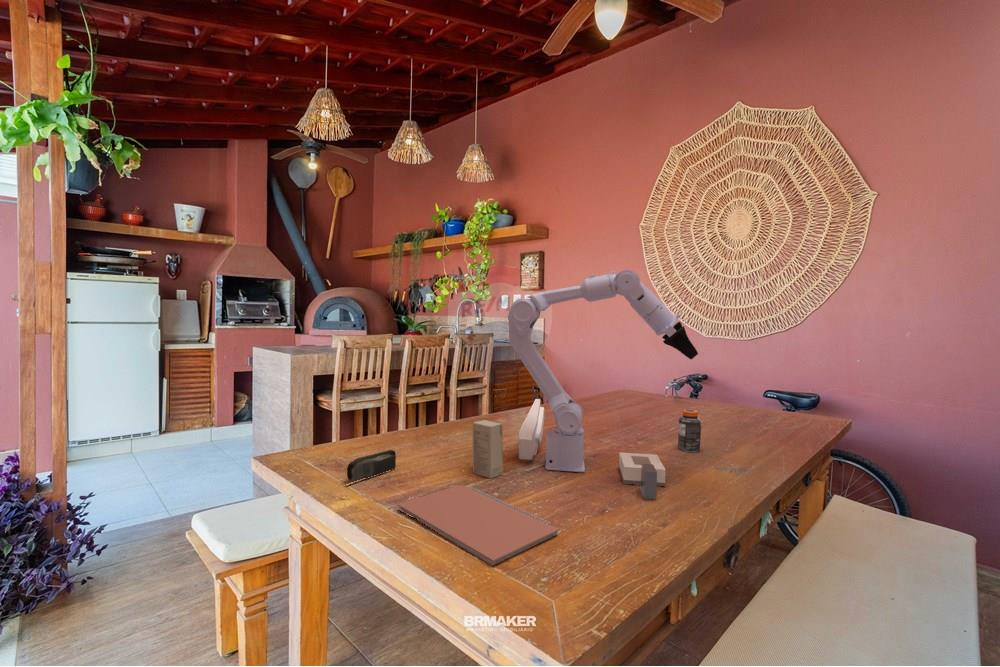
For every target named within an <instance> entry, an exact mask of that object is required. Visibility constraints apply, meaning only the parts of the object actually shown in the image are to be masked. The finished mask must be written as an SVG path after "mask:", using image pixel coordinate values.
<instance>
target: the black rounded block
mask: <svg viewBox="0 0 1000 667" xmlns="http://www.w3.org/2000/svg"><path fill="white" fill-rule="evenodd" d="M396 454H397V453H396V451H395V450H392V449H389V450H384V451H381V452H380V451H379V452H376V453H373V454H369V455H364V456H360V457H357V458H355V459H354V460H352V461H350V462H349V463H348V465H347V468H346V471H347V472H346V475H347V479H348V481H349V480H350V481H349V482H347V484H348V483H351V482H354V481H357V480H360V479H363V478H368V477H371V476H374V475H377V474H380V473H383V472H386V471H389V470H392V469H394V468H395V469H396V466H397V465H396V464H397V463H396V462H397V458H396V456H397V455H396ZM395 469H394V470H395ZM392 471H393V470H392Z"/></svg>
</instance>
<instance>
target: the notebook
mask: <svg viewBox="0 0 1000 667" xmlns="http://www.w3.org/2000/svg"><path fill="white" fill-rule="evenodd" d="M397 506H398V507H399V510H400V509H401V510H403V511H404V512H406V513H408V514H409V515H411V516H413V517H414V518H416V519H418V521H417V522H419V521H420V522H419V523H420V524H422V523H423V524H422V525H424V524H425V525H424V526H426V527H427V526H428V527H427V528H429V527H430V528H429V529H431V530H432V529H433V530H432V531H434V530H435V531H434V532H436V533H437V532H438V534H439V535H441V536H443V537H444V538H445V539H448V540H449V541H451V542H453V543H454V544H455V545H458V546H459V547H461V548H463V549H464V550H466V551H467V552H468V553H471V554H473V555H474V556H476V557H478V558H479V559H481V560H482V561H484V562H486V563H488V564H490V565H491V566H494V565H496V564H498V563H500V562H503V561H505V560H506V559H509V558H511V557H514V556H515V555H517V554H519V553H522V552H524V551H526V550H527V549H530V548H532V547H534V546H535V545H538V544H540V543H542V542H544V541H546V540H548V539H550V538H552V537H555V536H556V535H558V532H559V531H560V528H558V527H556V526H554V525H553V523H552V522H550V521H549V520H546V519H544V518H541V517H539V516H537V515H535V514H532V513H531V512H528V511H526V510H523V508H522V509H521V508H519V507H516V506H515V505H512V504H510V503H507V502H505V501H503V500H502V499H500V498H497V497H495V496H492V495H490V494H487V493H485V492H483V491H481V490H479V489H476V488H475V487H473V486H468V487H467V486H466V485H463V484H458V485H455V486H453V487H449V488H447V489H442V490H440V491H436V492H433V493H429V494H427V495H423V496H420V497H417V498H414V499H413V498H412V499H410V500H407V501H404V502H401V503H397ZM416 519H415V520H416Z"/></svg>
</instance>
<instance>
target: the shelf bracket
mask: <svg viewBox="0 0 1000 667" xmlns="http://www.w3.org/2000/svg"><path fill="white" fill-rule="evenodd" d="M544 421H545V407H544V406H541V398H535V400H534V402H533V404H532V405H531V407H530V409H529V411H528V413H527V415H526V416H525V419H524V421H523V423H522V425H521V426H520V427H521V428H520V430H519V432H518V459H519V460H524V461H533V458H534V456H536V455H537V452H538V445H541V443H542V438H543V429H544Z"/></svg>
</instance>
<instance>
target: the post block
mask: <svg viewBox="0 0 1000 667" xmlns="http://www.w3.org/2000/svg"><path fill="white" fill-rule="evenodd" d="M618 454H619V455H618V470H620V471H619V473H621V474H620V476H621V479H622V483H624V484H623V485H628V484H634V485H633V486H641V468H642V464H652V465H654V467H655V469H656V471H657V486H665V487H666V470H667V469H666V468H665V466H664V464H663V463H662V460H661V459H660V458H659V456H658V455H657V454H649V453H636V452H635V453H634V452H619V453H618ZM636 484H638V485H636Z"/></svg>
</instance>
